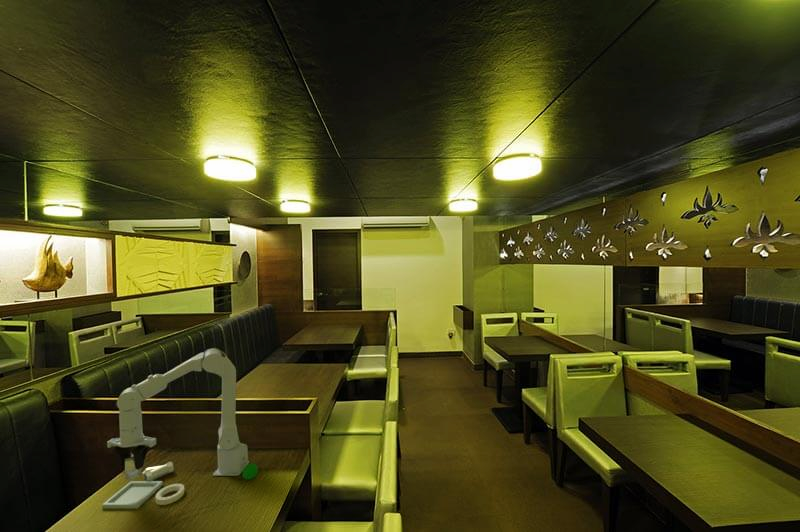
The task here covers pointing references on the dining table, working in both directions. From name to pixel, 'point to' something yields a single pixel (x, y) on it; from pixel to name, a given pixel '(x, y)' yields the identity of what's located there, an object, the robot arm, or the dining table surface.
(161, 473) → the pipe fitting
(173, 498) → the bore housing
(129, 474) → the metal cylinder
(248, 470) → the polyhedron
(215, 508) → the dining table surface
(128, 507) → the tray
